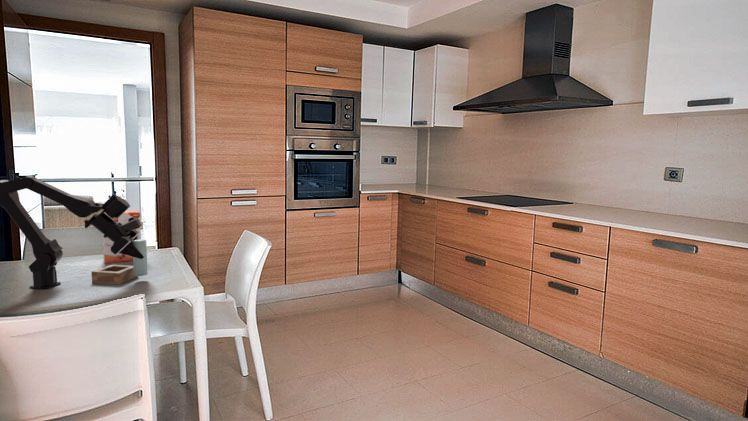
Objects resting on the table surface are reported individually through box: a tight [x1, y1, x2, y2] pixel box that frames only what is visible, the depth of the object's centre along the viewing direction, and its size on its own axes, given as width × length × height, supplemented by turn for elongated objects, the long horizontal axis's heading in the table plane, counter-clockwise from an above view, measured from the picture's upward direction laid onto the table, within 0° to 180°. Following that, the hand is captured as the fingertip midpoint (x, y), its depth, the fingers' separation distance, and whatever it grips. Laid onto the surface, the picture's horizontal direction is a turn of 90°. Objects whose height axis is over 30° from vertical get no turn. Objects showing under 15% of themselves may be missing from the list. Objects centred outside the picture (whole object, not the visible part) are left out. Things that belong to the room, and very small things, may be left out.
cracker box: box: [101, 210, 142, 264], centre depth 196 cm, size 14×6×21 cm, turn 124°
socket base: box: [91, 264, 138, 285], centre depth 169 cm, size 10×10×4 cm
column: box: [132, 239, 149, 277], centre depth 167 cm, size 4×4×12 cm
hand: (144, 256), depth 168 cm, fingers closed on column, 4 cm apart
